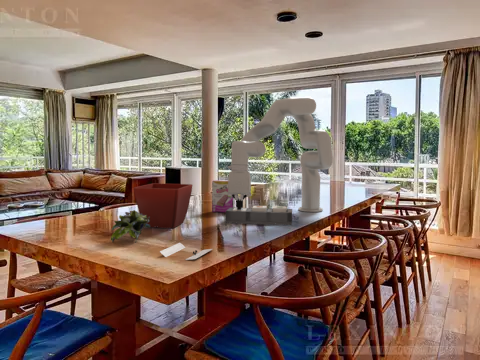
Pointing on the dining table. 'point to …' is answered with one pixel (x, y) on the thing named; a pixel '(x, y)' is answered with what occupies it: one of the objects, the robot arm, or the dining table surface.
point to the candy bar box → (221, 196)
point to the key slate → (239, 209)
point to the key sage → (279, 209)
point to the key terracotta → (259, 208)
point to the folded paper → (179, 247)
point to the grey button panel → (259, 217)
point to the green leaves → (130, 225)
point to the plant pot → (163, 203)
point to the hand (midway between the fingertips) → (239, 208)
